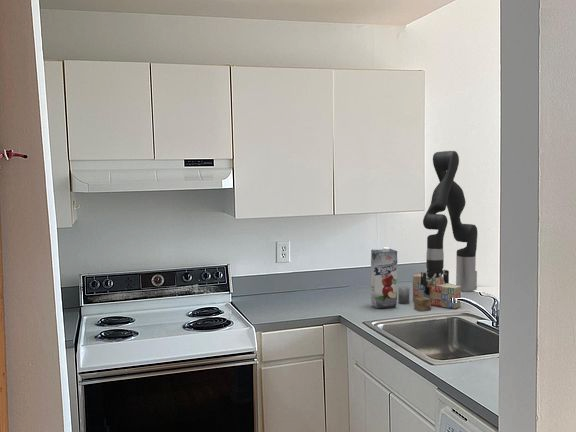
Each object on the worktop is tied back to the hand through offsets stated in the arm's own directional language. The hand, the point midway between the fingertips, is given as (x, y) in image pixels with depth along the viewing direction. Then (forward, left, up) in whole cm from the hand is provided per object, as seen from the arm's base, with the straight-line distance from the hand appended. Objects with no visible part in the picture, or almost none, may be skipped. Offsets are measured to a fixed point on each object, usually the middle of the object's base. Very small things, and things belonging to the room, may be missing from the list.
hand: (434, 293), depth 272 cm
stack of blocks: (0, +1, -5) cm, 5 cm away
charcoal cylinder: (+11, -8, -5) cm, 15 cm away
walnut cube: (+11, +6, -5) cm, 14 cm away
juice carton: (+23, -6, -5) cm, 24 cm away
